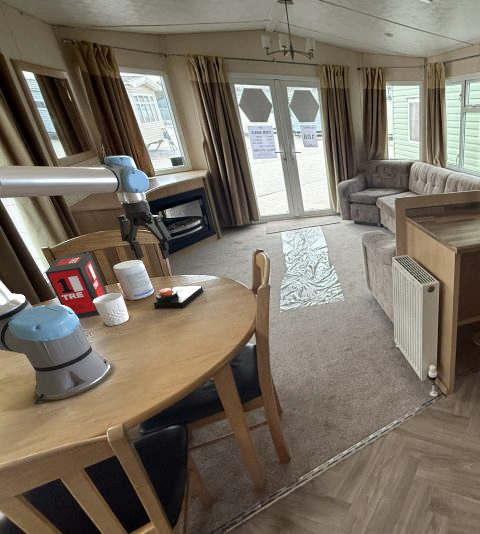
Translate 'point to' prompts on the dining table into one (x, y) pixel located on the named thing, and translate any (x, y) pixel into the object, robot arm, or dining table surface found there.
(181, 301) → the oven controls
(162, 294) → the oven button
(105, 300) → the white cup
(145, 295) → the supplement tub
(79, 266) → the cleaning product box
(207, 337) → the dining table surface
